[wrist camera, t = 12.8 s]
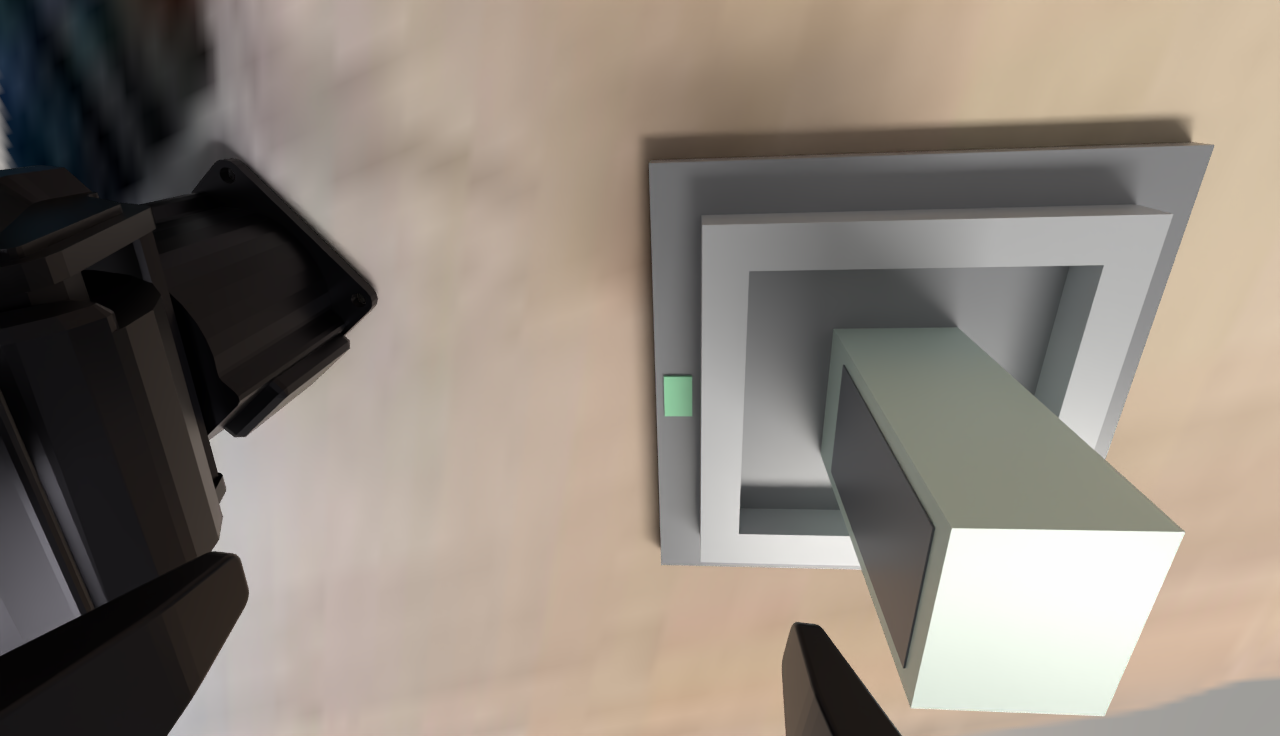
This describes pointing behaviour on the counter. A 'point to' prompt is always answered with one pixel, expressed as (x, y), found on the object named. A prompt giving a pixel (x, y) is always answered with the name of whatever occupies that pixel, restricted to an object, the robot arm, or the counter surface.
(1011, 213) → the charging dock
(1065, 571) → the rectangular block
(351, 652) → the counter surface
